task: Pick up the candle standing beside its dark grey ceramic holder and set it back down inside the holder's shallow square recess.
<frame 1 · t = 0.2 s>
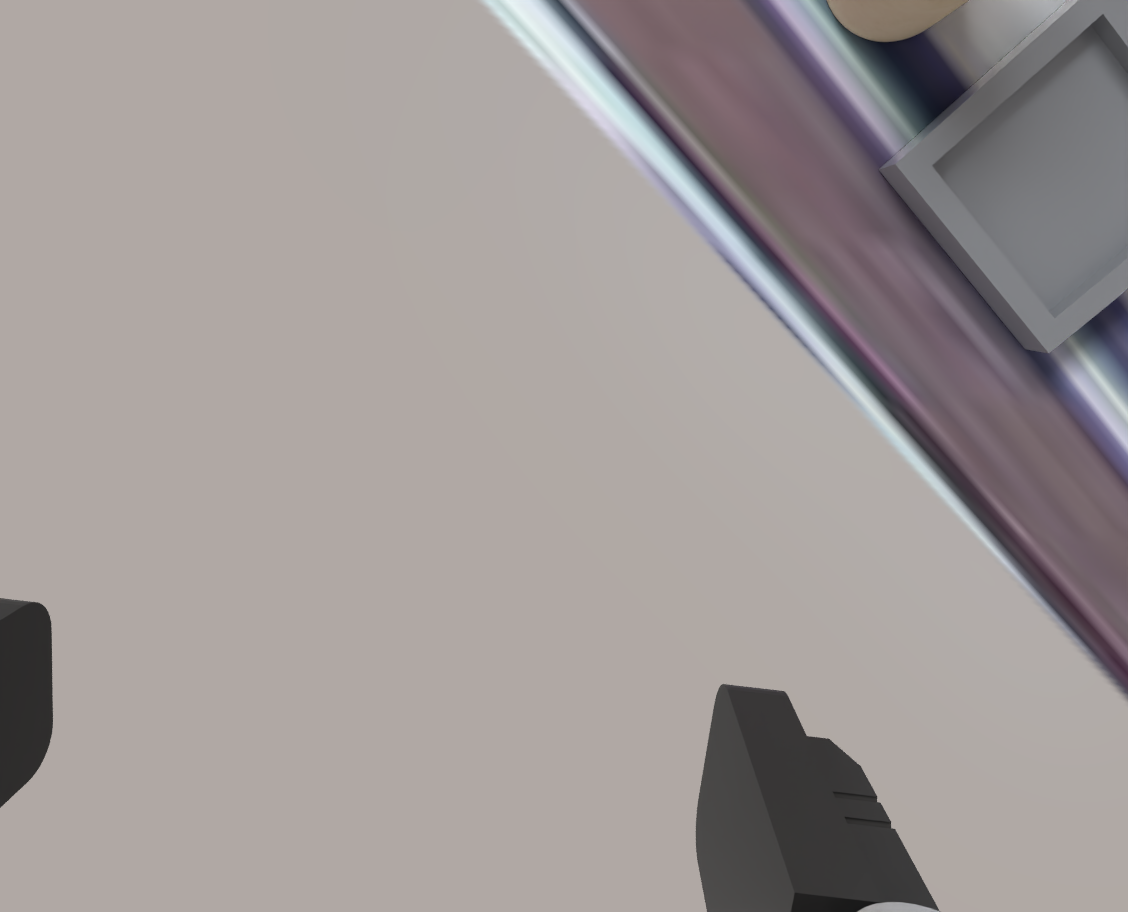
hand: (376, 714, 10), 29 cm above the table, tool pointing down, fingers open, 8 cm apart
holder: (1051, 176, 36), on the table
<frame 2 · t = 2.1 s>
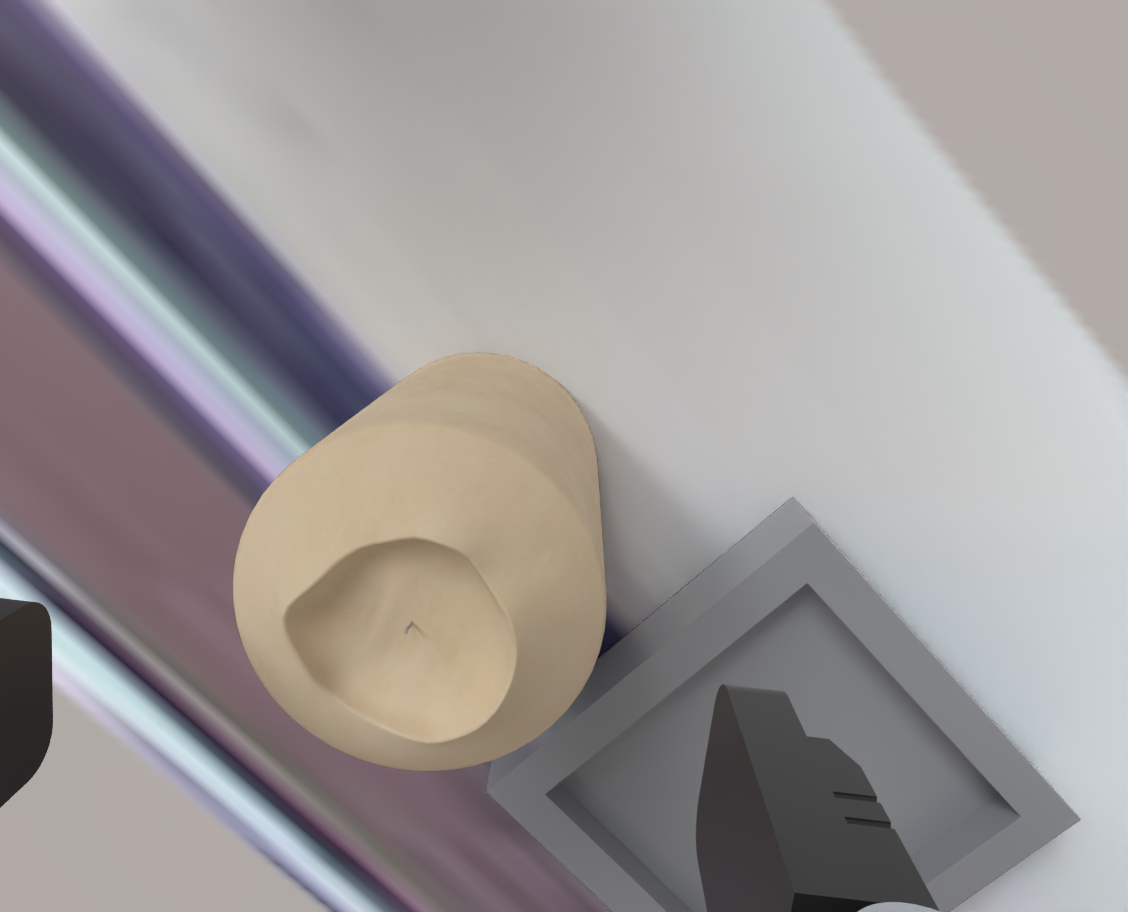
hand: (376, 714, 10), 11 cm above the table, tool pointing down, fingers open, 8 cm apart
holder: (765, 757, 23), on the table
candle: (484, 462, 21), on the table
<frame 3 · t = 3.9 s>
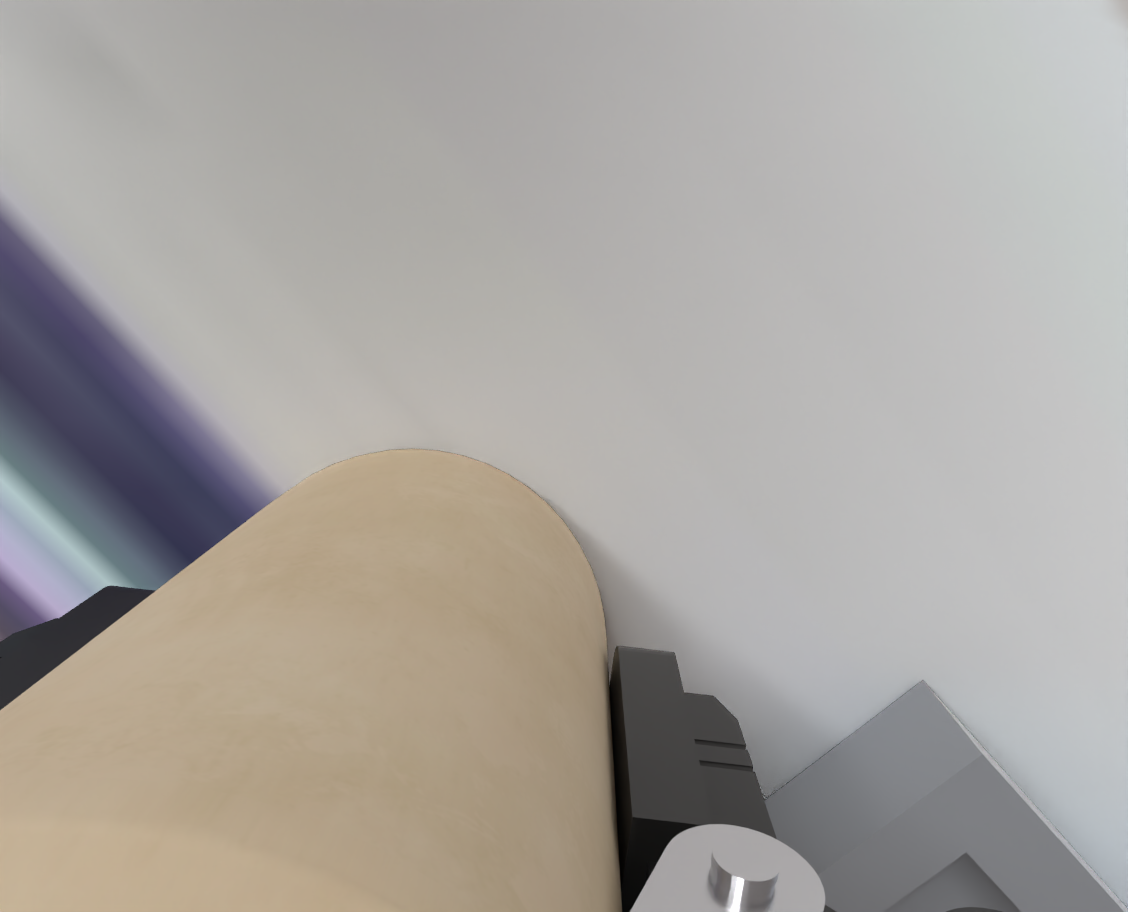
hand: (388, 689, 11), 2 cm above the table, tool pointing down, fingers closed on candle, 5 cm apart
candle: (422, 619, 13), on the table, touching gripper
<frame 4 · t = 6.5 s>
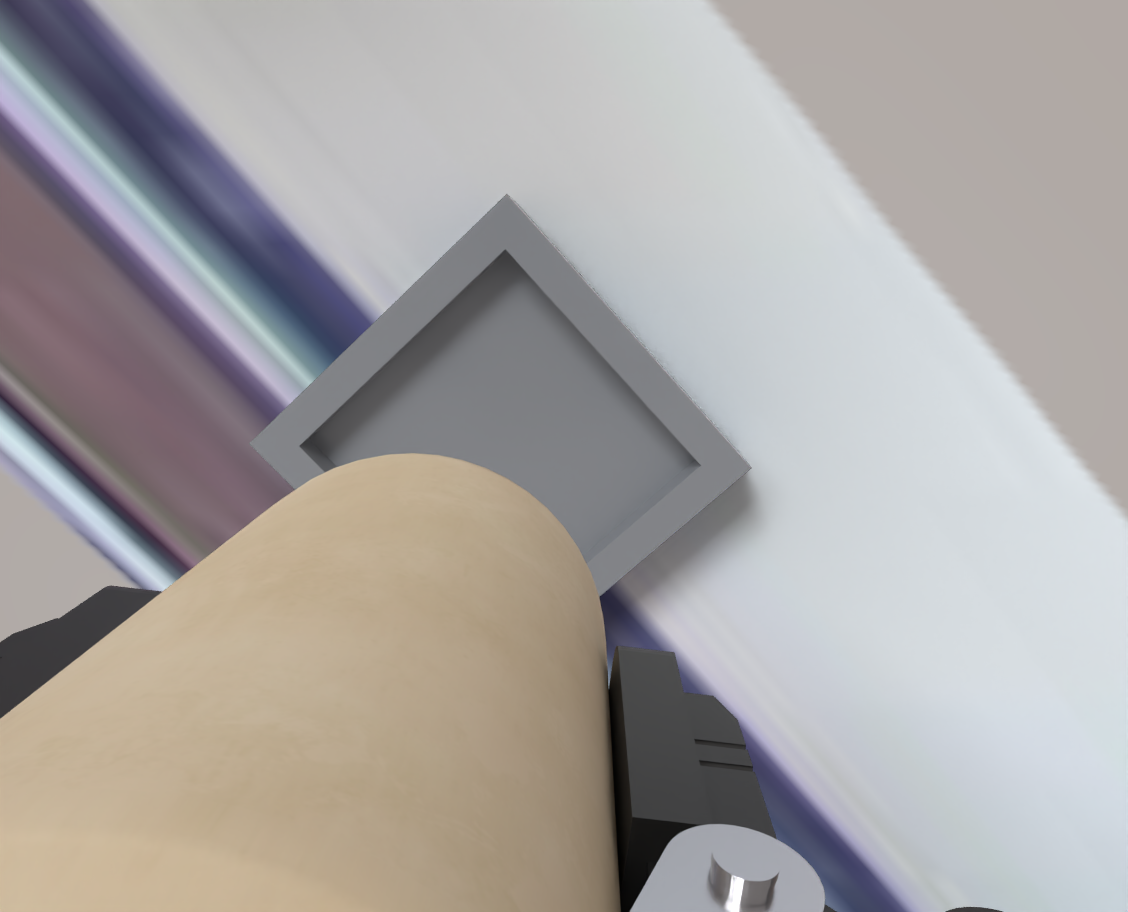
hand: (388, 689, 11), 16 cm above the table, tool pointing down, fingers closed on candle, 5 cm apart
holder: (505, 441, 27), on the table
candle: (422, 623, 13), point 14 cm above the table, touching gripper
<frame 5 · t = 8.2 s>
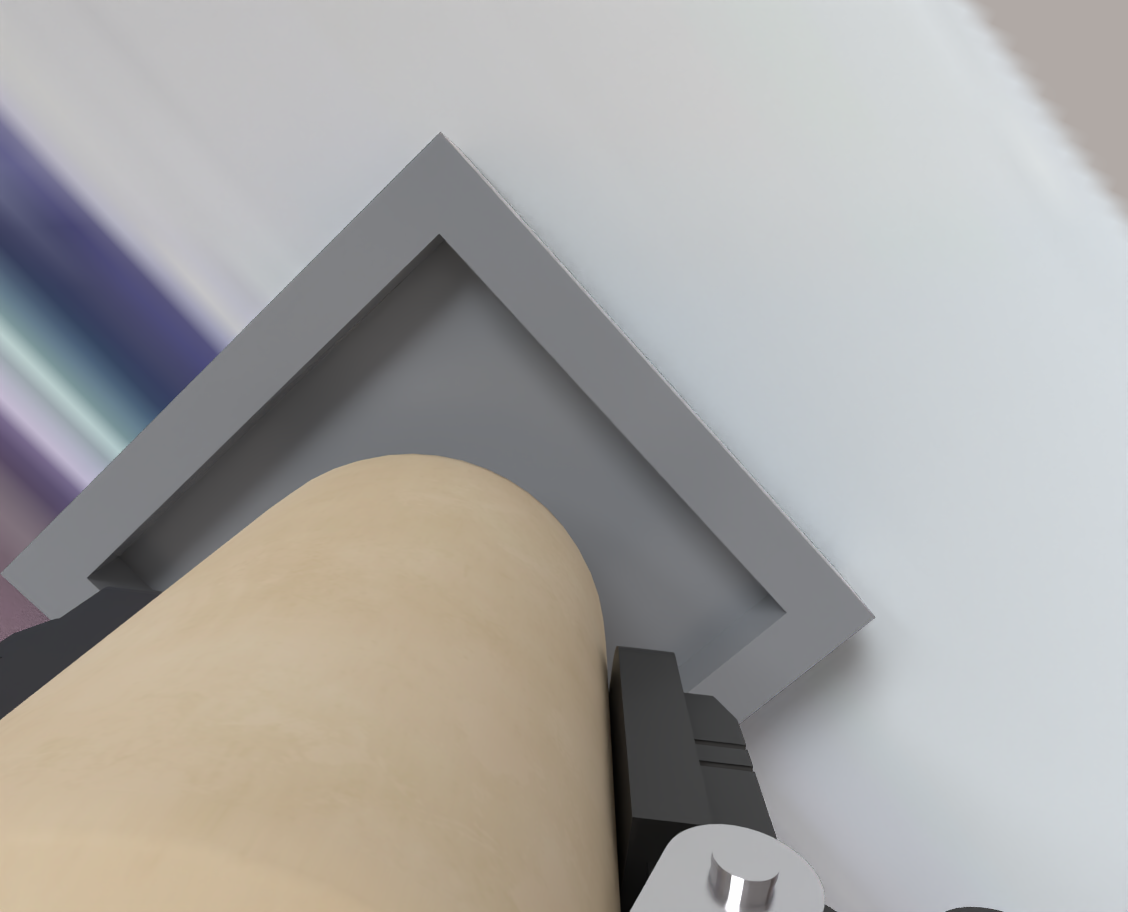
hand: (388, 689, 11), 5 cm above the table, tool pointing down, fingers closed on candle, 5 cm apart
holder: (453, 554, 16), on the table
candle: (422, 623, 13), point 3 cm above the table, touching gripper
when the fingers open (4 cm above the table, at t = 9.3 s): candle drops 1 cm, resting on holder.
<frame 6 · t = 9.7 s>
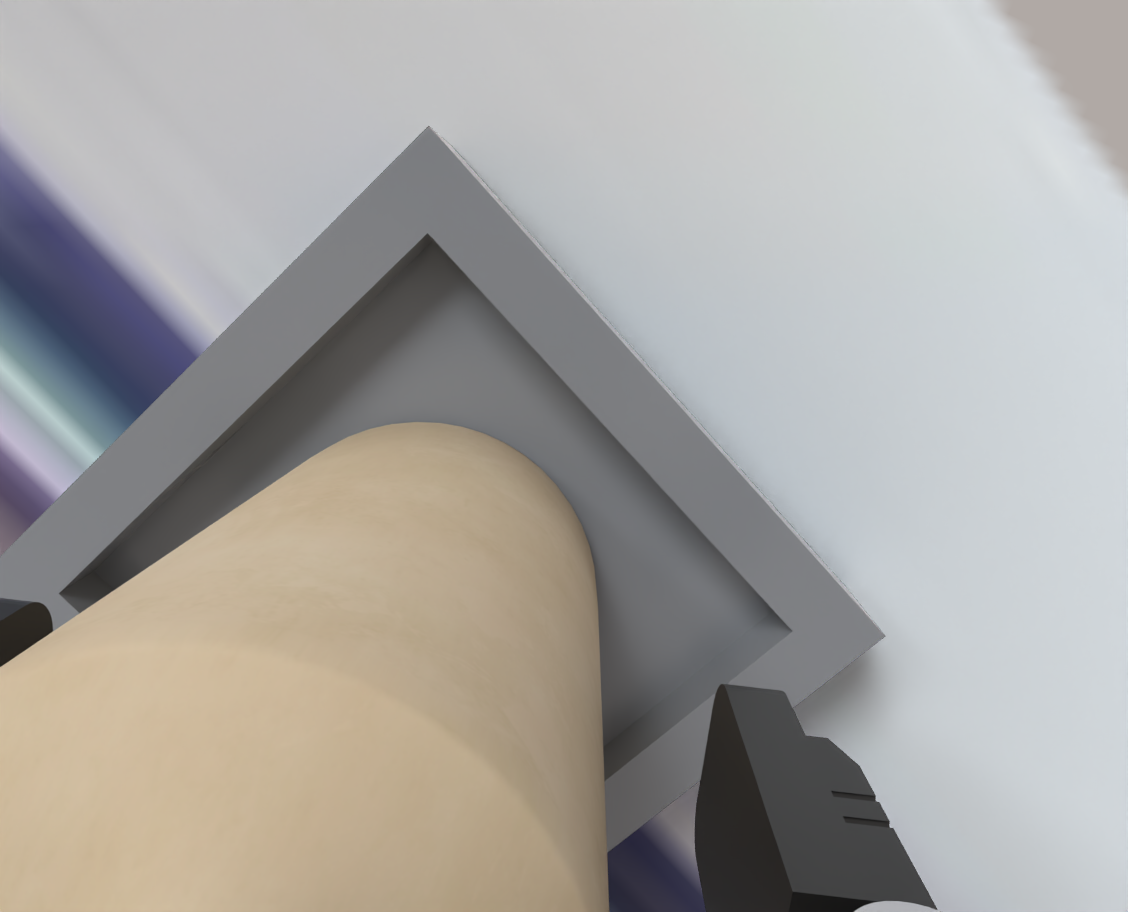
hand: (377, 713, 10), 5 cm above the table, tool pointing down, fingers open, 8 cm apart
holder: (444, 567, 15), on the table
candle: (431, 578, 15), point 1 cm above the table, touching holder
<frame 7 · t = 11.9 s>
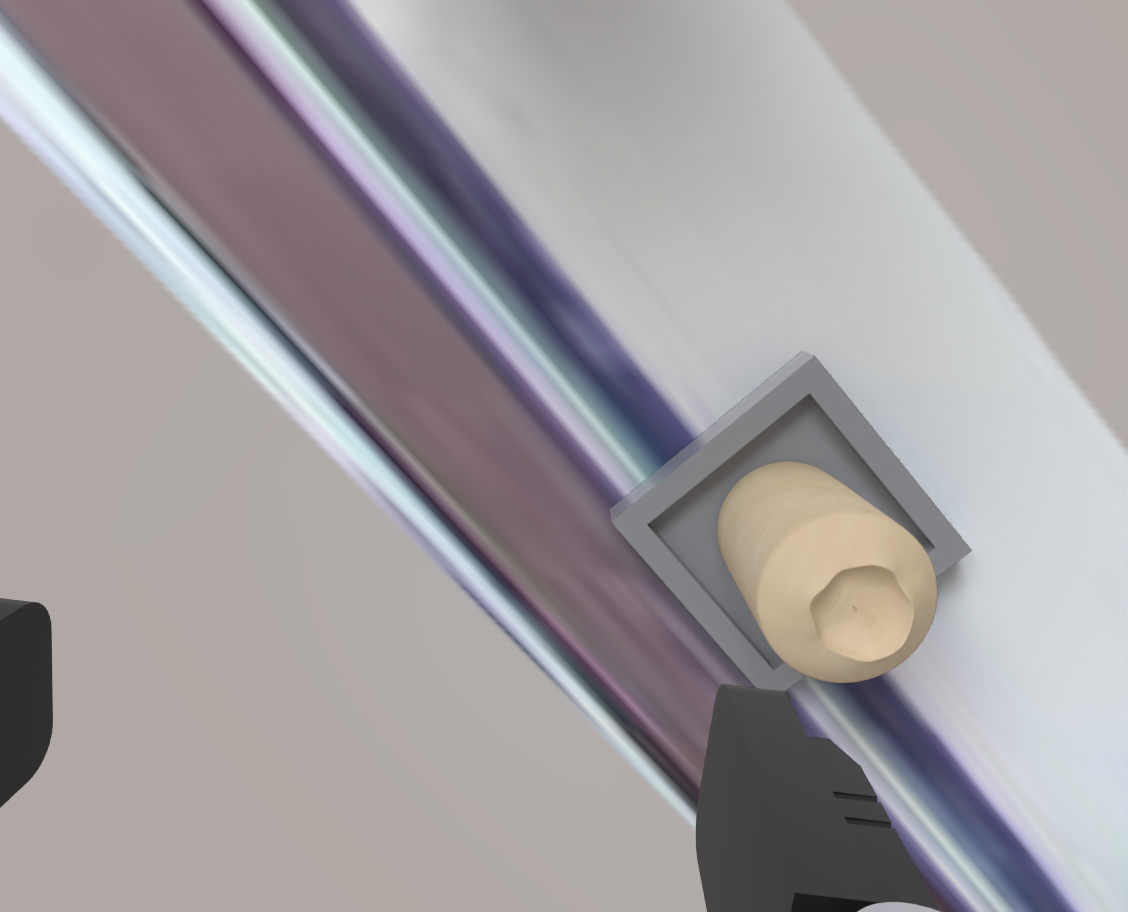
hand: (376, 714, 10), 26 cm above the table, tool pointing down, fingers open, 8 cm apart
holder: (780, 522, 36), on the table
candle: (782, 525, 35), point 1 cm above the table, touching holder
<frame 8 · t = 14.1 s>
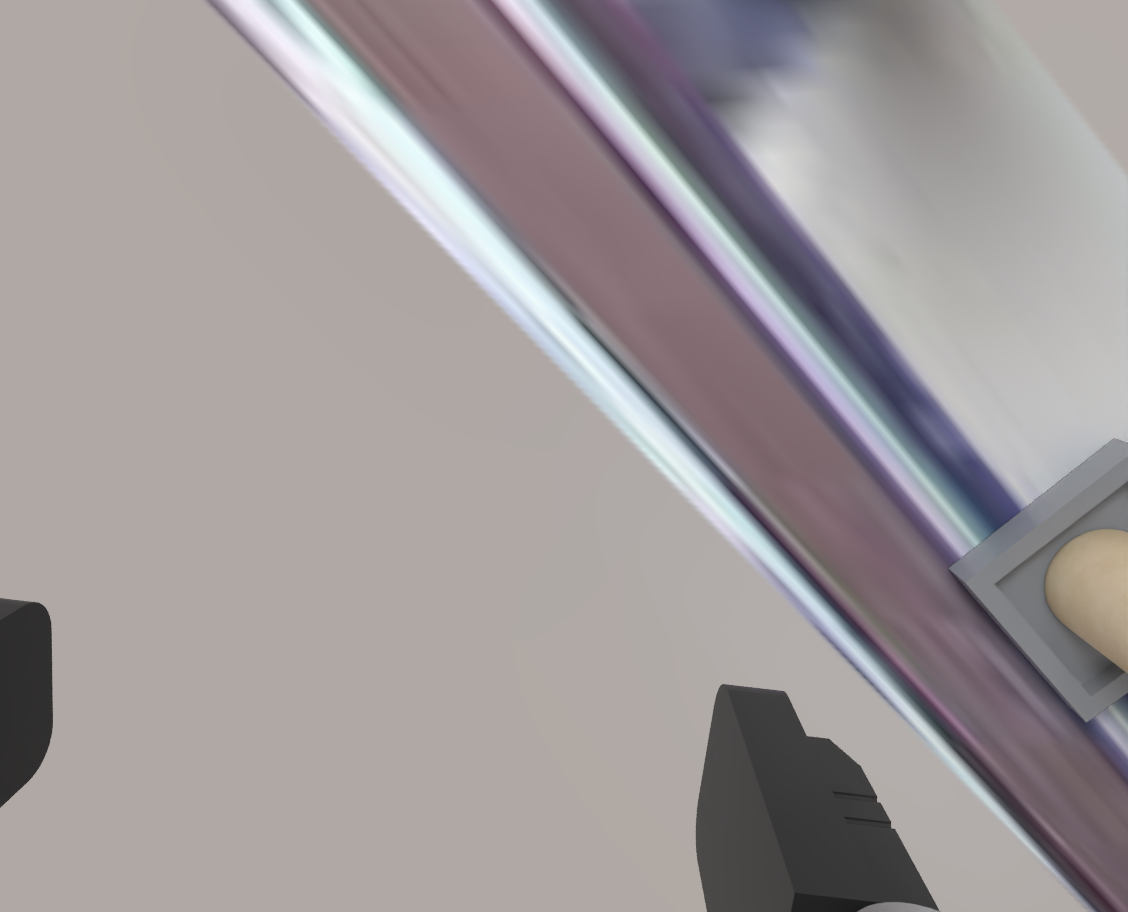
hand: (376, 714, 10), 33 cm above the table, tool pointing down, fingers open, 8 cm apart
holder: (1088, 575, 44), on the table
candle: (1096, 578, 44), point 1 cm above the table, touching holder
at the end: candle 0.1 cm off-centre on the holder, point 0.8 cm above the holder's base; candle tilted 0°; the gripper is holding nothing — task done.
